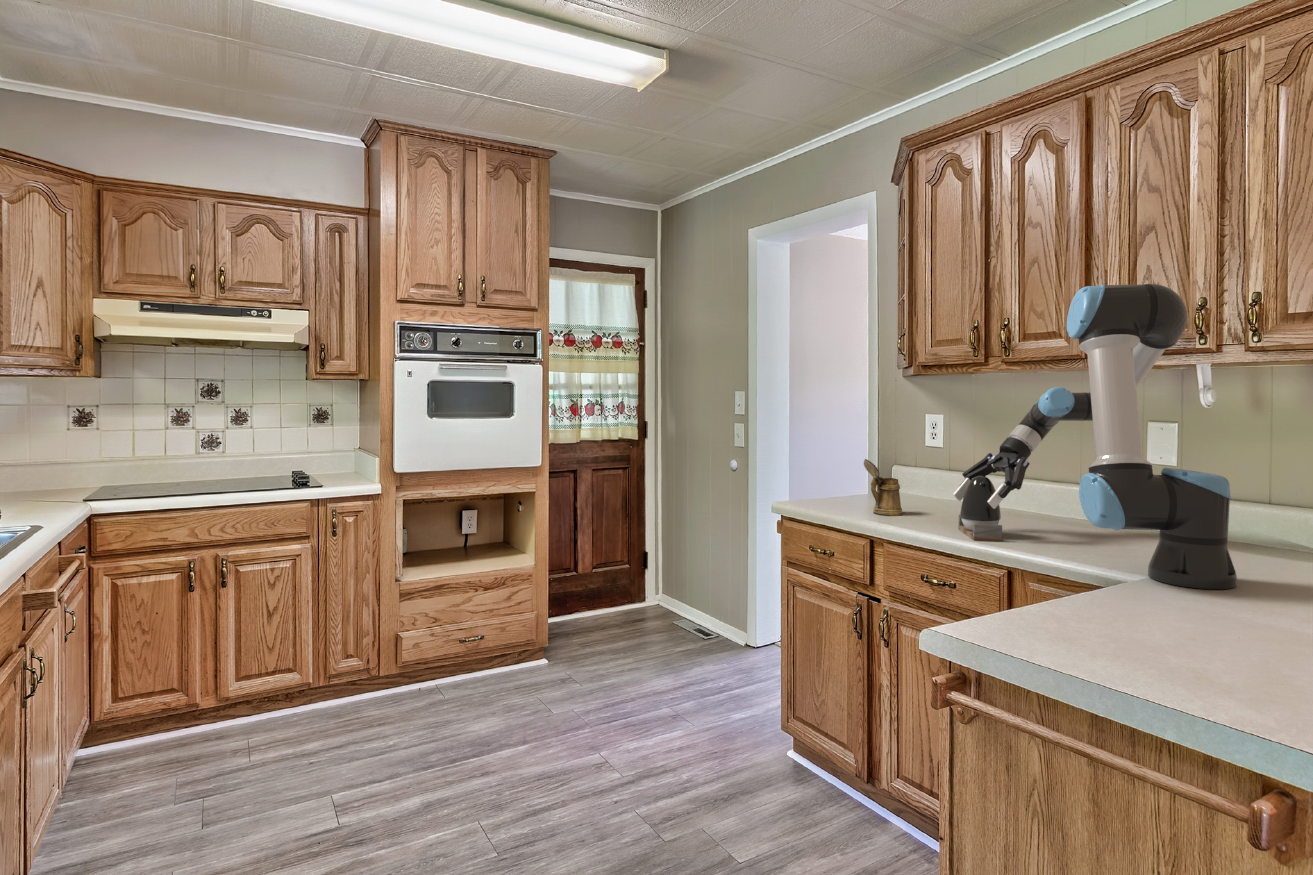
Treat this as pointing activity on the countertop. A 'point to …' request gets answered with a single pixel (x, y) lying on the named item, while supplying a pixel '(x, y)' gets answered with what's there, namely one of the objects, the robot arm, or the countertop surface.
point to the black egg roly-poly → (979, 504)
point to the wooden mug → (884, 492)
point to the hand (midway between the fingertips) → (973, 501)
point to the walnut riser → (982, 531)
